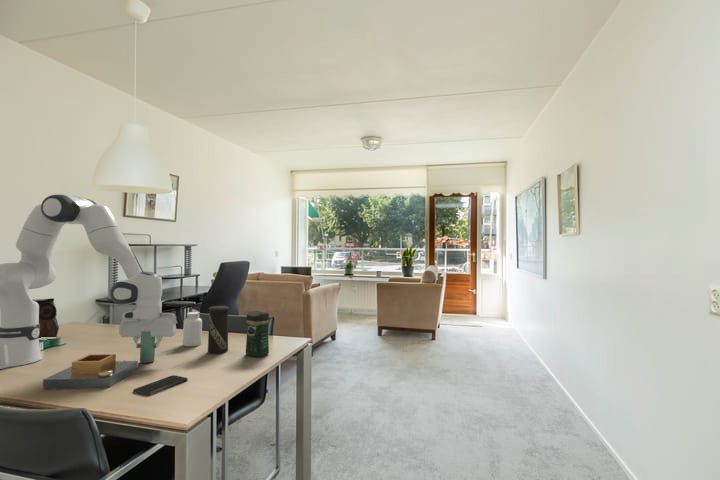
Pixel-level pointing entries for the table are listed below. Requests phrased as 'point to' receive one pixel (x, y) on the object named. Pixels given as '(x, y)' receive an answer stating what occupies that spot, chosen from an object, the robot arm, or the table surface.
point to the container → (218, 329)
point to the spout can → (147, 347)
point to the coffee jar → (257, 334)
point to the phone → (160, 385)
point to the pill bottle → (192, 330)
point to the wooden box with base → (91, 373)
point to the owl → (47, 318)
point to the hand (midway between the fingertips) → (147, 347)
